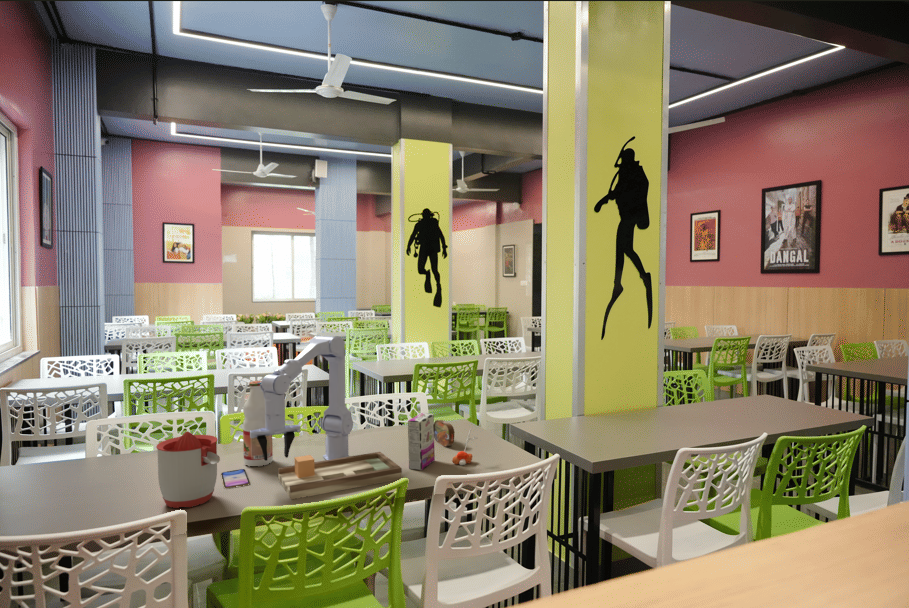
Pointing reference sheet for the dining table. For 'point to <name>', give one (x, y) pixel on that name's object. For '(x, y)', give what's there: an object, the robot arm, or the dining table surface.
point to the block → (304, 466)
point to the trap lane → (340, 475)
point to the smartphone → (235, 478)
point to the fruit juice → (255, 427)
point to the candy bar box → (421, 441)
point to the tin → (443, 433)
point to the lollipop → (463, 454)
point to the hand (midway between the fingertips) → (276, 458)
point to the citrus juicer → (187, 469)
